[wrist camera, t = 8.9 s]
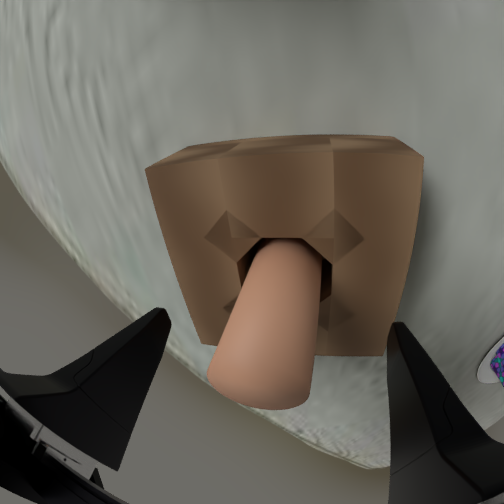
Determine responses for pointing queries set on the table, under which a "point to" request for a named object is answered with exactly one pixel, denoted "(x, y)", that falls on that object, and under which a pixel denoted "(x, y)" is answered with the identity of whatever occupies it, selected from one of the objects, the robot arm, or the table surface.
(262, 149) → the bore block
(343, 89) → the table surface
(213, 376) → the pin
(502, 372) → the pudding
